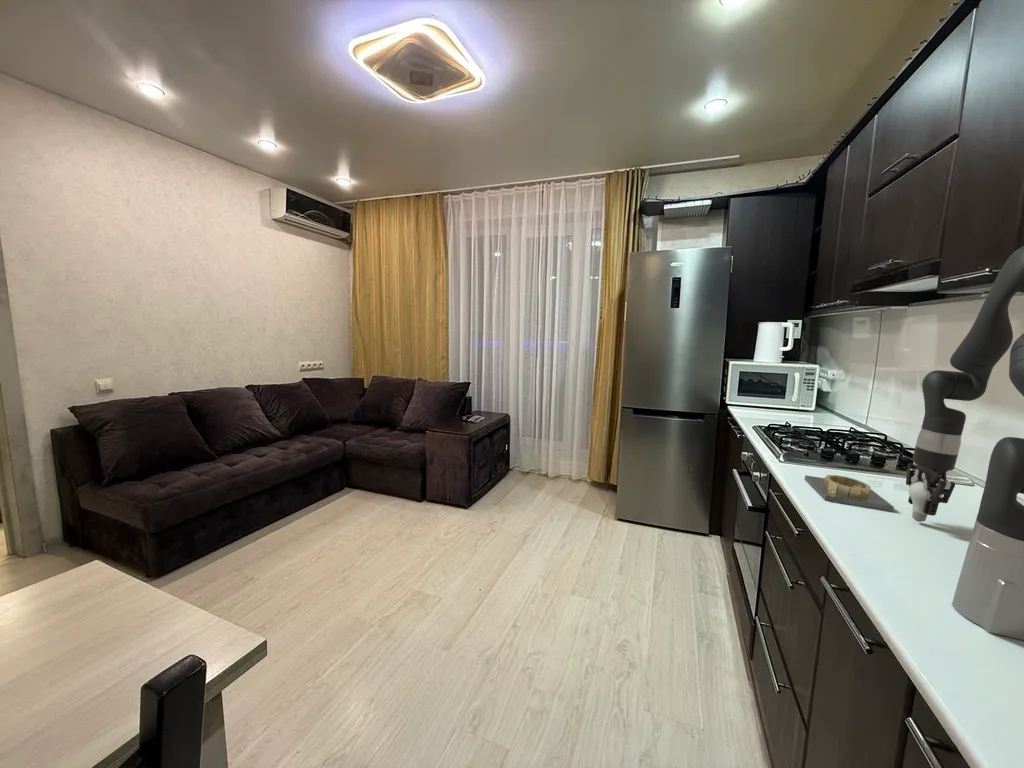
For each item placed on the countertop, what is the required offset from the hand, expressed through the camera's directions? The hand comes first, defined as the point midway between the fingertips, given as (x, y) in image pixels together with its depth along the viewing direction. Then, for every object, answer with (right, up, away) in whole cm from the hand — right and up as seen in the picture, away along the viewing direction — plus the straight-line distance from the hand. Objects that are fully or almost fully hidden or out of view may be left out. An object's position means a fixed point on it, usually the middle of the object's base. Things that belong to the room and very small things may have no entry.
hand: (921, 508), depth 103 cm
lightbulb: (0, -4, +1) cm, 4 cm away
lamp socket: (-6, -1, +16) cm, 18 cm away
